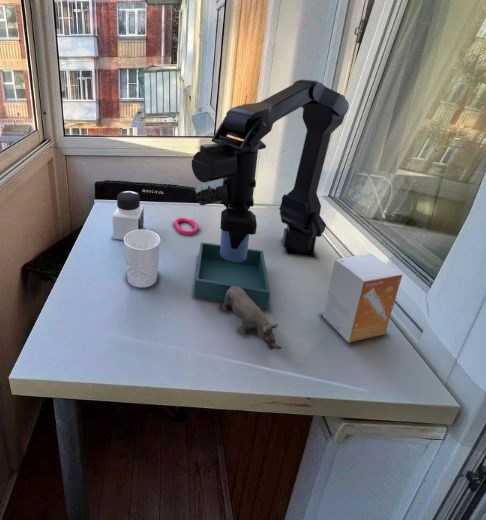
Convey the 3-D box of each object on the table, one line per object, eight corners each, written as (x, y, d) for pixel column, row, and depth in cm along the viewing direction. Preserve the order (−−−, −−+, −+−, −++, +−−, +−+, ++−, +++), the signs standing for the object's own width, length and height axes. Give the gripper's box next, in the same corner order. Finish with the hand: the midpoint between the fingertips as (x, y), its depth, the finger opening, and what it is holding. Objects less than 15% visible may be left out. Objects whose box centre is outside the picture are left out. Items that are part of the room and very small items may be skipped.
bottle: (246, 248, 73) (250, 204, 70) (247, 264, 68) (252, 217, 65) (220, 245, 75) (223, 201, 71) (219, 260, 69) (222, 213, 66)
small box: (348, 344, 58) (363, 281, 54) (321, 316, 63) (333, 258, 60) (386, 335, 59) (403, 274, 55) (356, 309, 65) (370, 252, 61)
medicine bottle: (138, 242, 88) (138, 201, 84) (112, 239, 89) (111, 198, 86) (143, 228, 95) (143, 189, 91) (119, 225, 96) (118, 187, 92)
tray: (260, 266, 78) (262, 250, 77) (267, 310, 65) (270, 292, 64) (199, 257, 82) (200, 241, 80) (194, 297, 68) (195, 280, 67)
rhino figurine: (268, 367, 54) (272, 337, 52) (217, 307, 66) (220, 282, 64) (287, 358, 55) (292, 329, 53) (234, 302, 67) (237, 277, 65)
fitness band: (201, 234, 91) (201, 229, 91) (181, 237, 90) (181, 232, 90) (190, 220, 99) (190, 215, 99) (171, 222, 98) (171, 217, 97)
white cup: (164, 272, 76) (165, 234, 73) (151, 294, 69) (152, 253, 66) (133, 263, 79) (133, 226, 76) (118, 283, 72) (117, 244, 69)
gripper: (202, 154, 76) (198, 215, 81) (194, 186, 59) (190, 260, 64) (253, 158, 74) (246, 221, 78) (261, 192, 56) (251, 270, 61)
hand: (233, 240), depth 70 cm, fingers closed on bottle, 6 cm apart
